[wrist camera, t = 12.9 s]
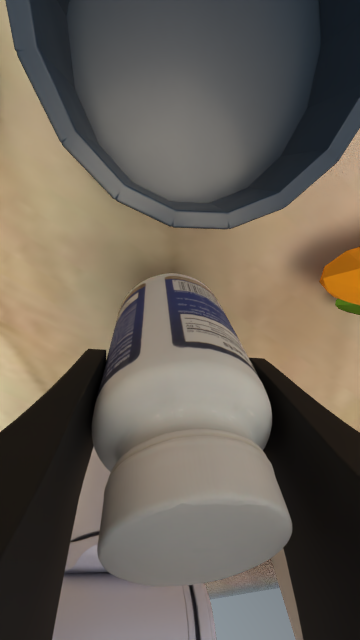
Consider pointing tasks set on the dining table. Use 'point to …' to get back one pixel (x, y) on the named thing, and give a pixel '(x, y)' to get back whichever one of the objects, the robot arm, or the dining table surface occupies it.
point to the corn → (344, 280)
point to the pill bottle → (183, 443)
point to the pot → (196, 98)
